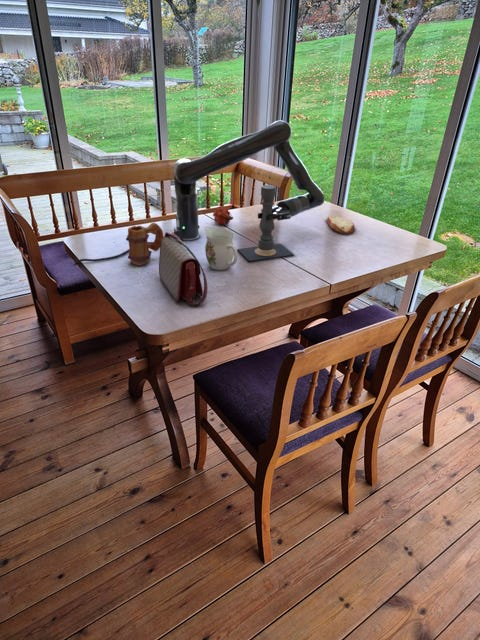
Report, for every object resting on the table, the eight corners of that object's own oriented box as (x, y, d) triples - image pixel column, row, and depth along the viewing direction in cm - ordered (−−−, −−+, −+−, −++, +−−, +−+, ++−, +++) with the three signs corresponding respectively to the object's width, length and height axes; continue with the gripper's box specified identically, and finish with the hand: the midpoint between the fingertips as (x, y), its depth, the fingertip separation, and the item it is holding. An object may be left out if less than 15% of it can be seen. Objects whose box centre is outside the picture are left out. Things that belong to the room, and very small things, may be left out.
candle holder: (272, 251, 184) (275, 189, 171) (257, 249, 185) (259, 188, 172) (274, 245, 189) (277, 185, 176) (259, 244, 190) (261, 184, 177)
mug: (131, 268, 173) (127, 231, 165) (125, 261, 179) (121, 224, 171) (167, 262, 179) (165, 225, 171) (161, 255, 185) (158, 219, 177)
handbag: (212, 305, 149) (211, 256, 140) (181, 311, 145) (179, 261, 136) (184, 272, 171) (182, 228, 162) (157, 276, 167) (153, 231, 158)
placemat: (249, 262, 180) (249, 260, 179) (237, 250, 190) (237, 248, 190) (293, 255, 186) (294, 254, 186) (280, 244, 197) (280, 243, 196)
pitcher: (225, 279, 166) (225, 243, 159) (196, 263, 178) (194, 230, 171) (247, 271, 173) (248, 236, 165) (217, 256, 184) (217, 224, 177)
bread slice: (329, 218, 229) (330, 211, 227) (363, 225, 220) (364, 218, 218) (313, 227, 216) (313, 220, 214) (347, 236, 207) (349, 228, 205)
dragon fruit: (217, 222, 226) (228, 232, 218) (205, 214, 220) (216, 225, 212) (227, 207, 224) (239, 218, 216) (215, 199, 218) (227, 210, 210)
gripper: (276, 195, 191) (249, 204, 180) (303, 202, 183) (276, 212, 172) (275, 212, 195) (248, 222, 184) (302, 220, 187) (275, 230, 176)
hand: (262, 217), depth 178 cm, fingers closed on candle holder, 3 cm apart
